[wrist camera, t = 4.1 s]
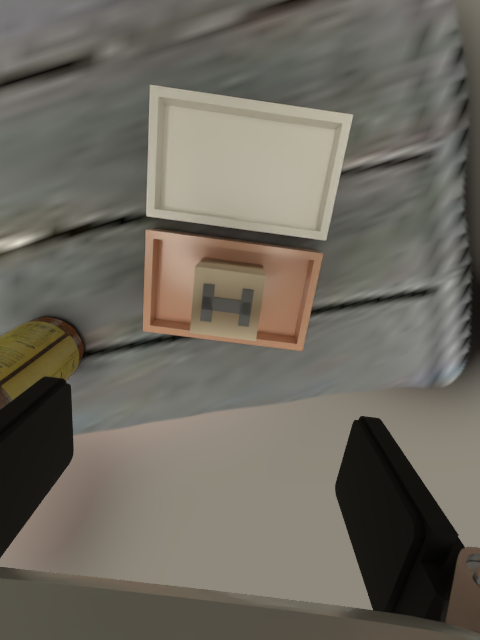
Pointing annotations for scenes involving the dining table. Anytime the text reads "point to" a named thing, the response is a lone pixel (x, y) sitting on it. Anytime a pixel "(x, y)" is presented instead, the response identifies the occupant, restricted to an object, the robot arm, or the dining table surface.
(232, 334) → the letter cube
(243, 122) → the tray
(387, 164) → the dining table surface
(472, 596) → the robot arm
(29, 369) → the sauce bottle
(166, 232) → the tray
